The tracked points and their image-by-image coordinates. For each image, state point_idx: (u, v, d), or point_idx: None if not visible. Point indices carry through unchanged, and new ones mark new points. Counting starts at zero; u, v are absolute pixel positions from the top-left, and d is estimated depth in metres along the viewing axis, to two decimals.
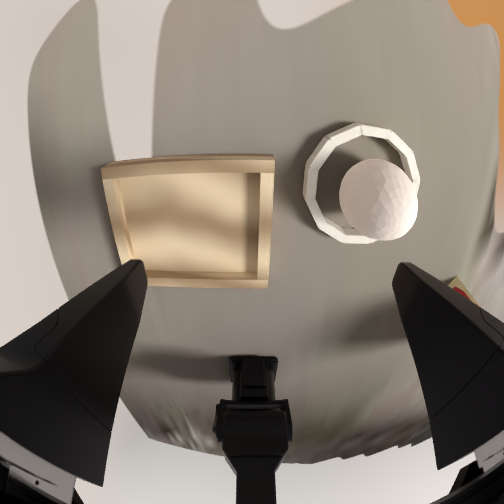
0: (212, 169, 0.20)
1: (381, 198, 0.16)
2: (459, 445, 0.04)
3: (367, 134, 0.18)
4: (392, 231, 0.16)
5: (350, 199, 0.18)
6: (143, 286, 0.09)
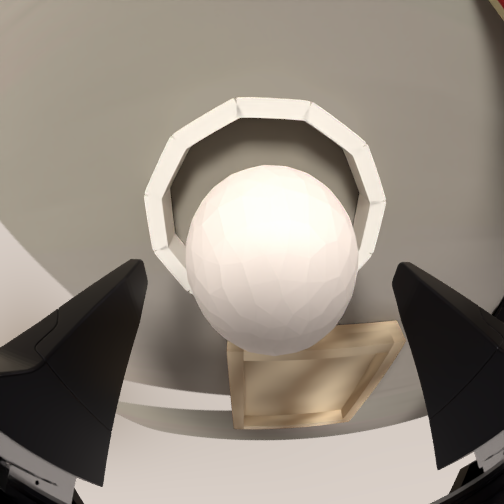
0: (240, 387, 0.18)
1: (236, 345, 0.08)
2: (459, 444, 0.04)
3: (164, 238, 0.12)
4: (311, 339, 0.07)
5: None
6: (143, 286, 0.09)
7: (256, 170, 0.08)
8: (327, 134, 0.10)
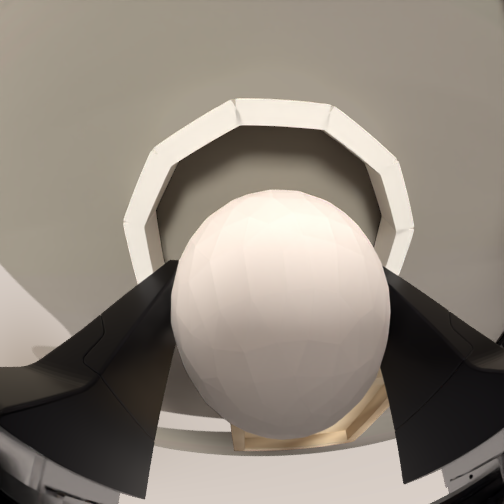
0: None
1: None
2: (424, 460, 0.04)
3: (150, 272, 0.10)
4: (330, 426, 0.05)
5: None
6: None
7: (261, 200, 0.06)
8: (351, 148, 0.07)
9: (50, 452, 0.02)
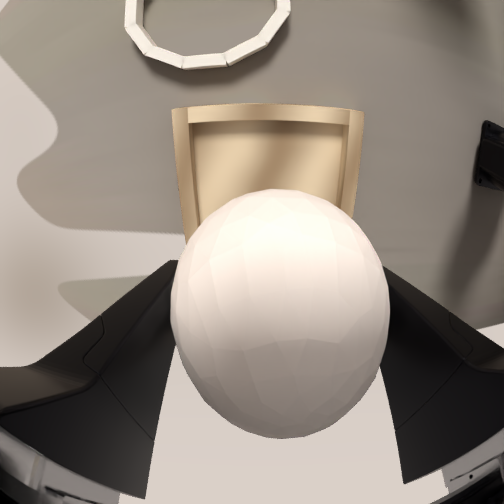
0: (188, 177, 0.17)
1: None
2: (423, 460, 0.04)
3: (134, 17, 0.11)
4: (329, 425, 0.05)
5: None
6: None
7: (261, 199, 0.06)
8: None
9: (50, 452, 0.02)
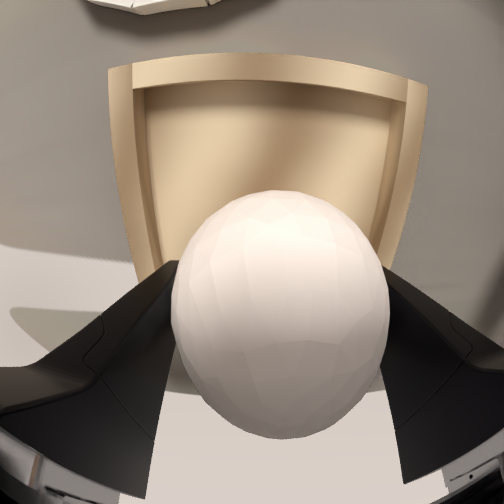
0: (133, 180, 0.10)
1: None
2: (424, 461, 0.04)
3: None
4: (329, 426, 0.05)
5: None
6: None
7: (261, 201, 0.06)
8: None
9: (50, 452, 0.02)
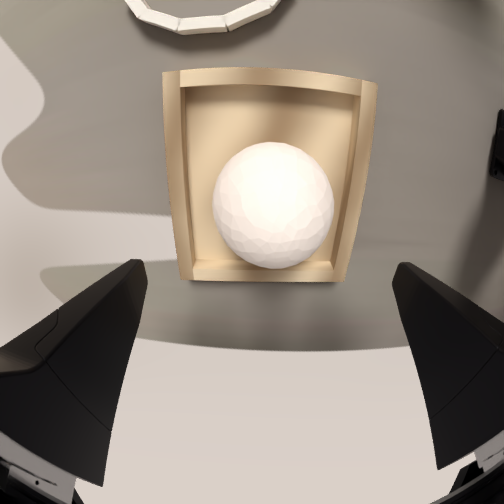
0: (177, 147, 0.14)
1: (248, 259, 0.12)
2: (459, 445, 0.04)
3: None
4: (300, 247, 0.11)
5: None
6: (143, 286, 0.09)
7: (263, 143, 0.12)
8: None
9: None
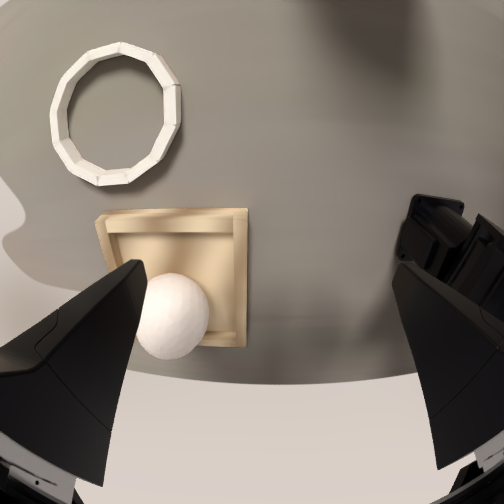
0: None
1: None
2: (459, 444, 0.04)
3: (57, 135, 0.15)
4: (173, 355, 0.18)
5: None
6: (143, 286, 0.09)
7: (157, 282, 0.19)
8: (130, 55, 0.13)
9: None
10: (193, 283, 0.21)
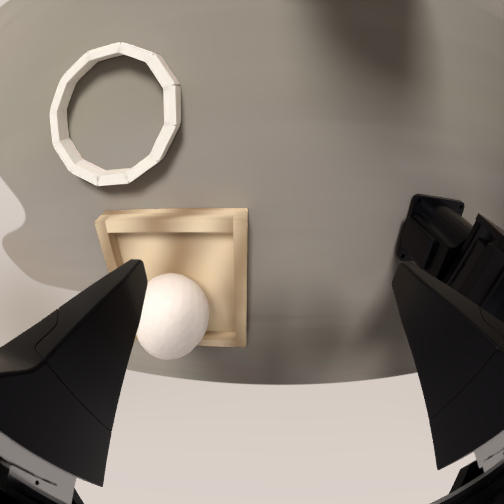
0: None
1: None
2: (459, 444, 0.04)
3: (57, 135, 0.15)
4: (173, 355, 0.18)
5: None
6: (143, 286, 0.09)
7: (157, 282, 0.19)
8: (130, 55, 0.13)
9: None
10: (193, 283, 0.21)
